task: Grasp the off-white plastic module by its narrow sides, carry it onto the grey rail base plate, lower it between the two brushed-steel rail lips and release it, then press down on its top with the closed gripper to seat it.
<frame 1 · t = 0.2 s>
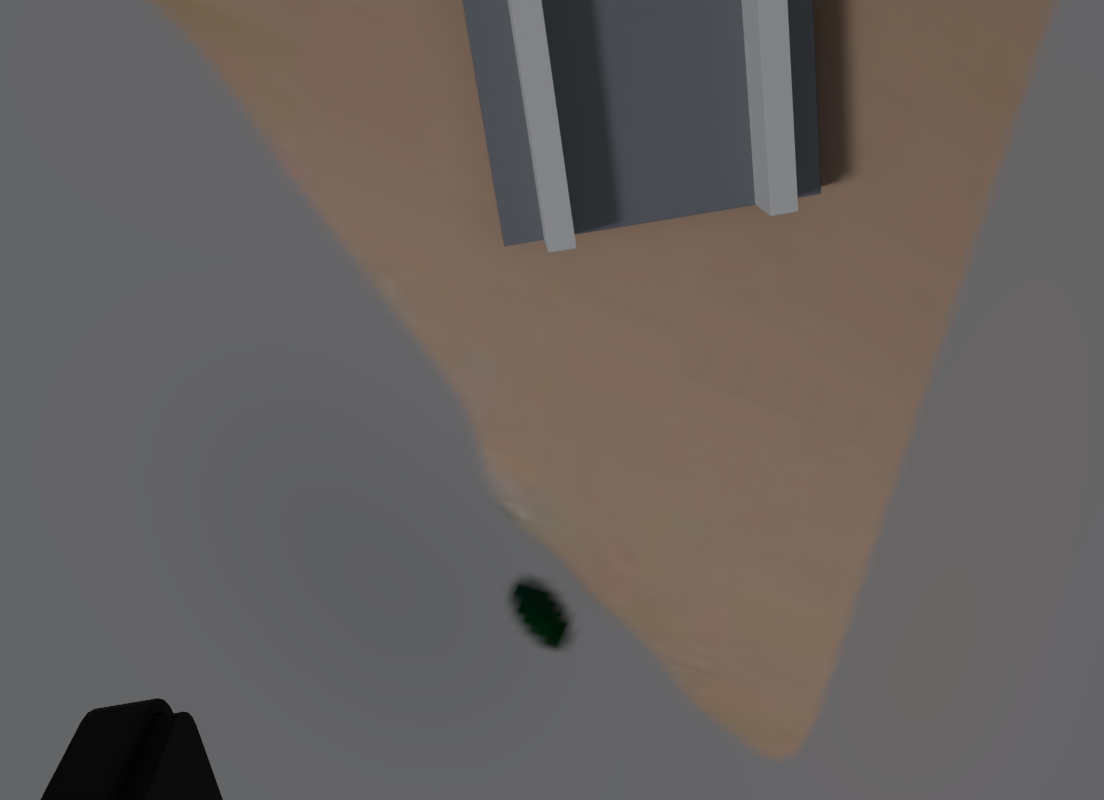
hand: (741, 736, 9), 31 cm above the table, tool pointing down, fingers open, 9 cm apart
grey rail base plate: (637, 20, 35), on the table
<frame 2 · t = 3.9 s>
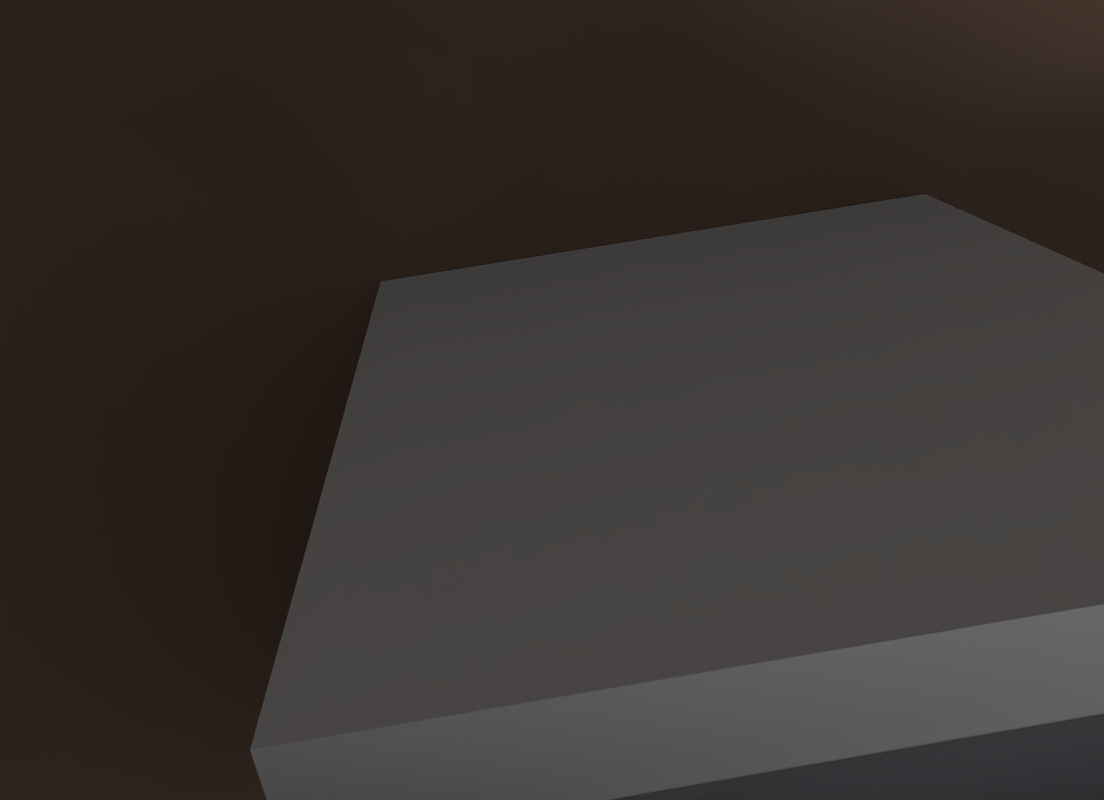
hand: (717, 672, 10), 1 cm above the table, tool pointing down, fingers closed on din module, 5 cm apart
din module: (692, 605, 11), on the table, touching gripper
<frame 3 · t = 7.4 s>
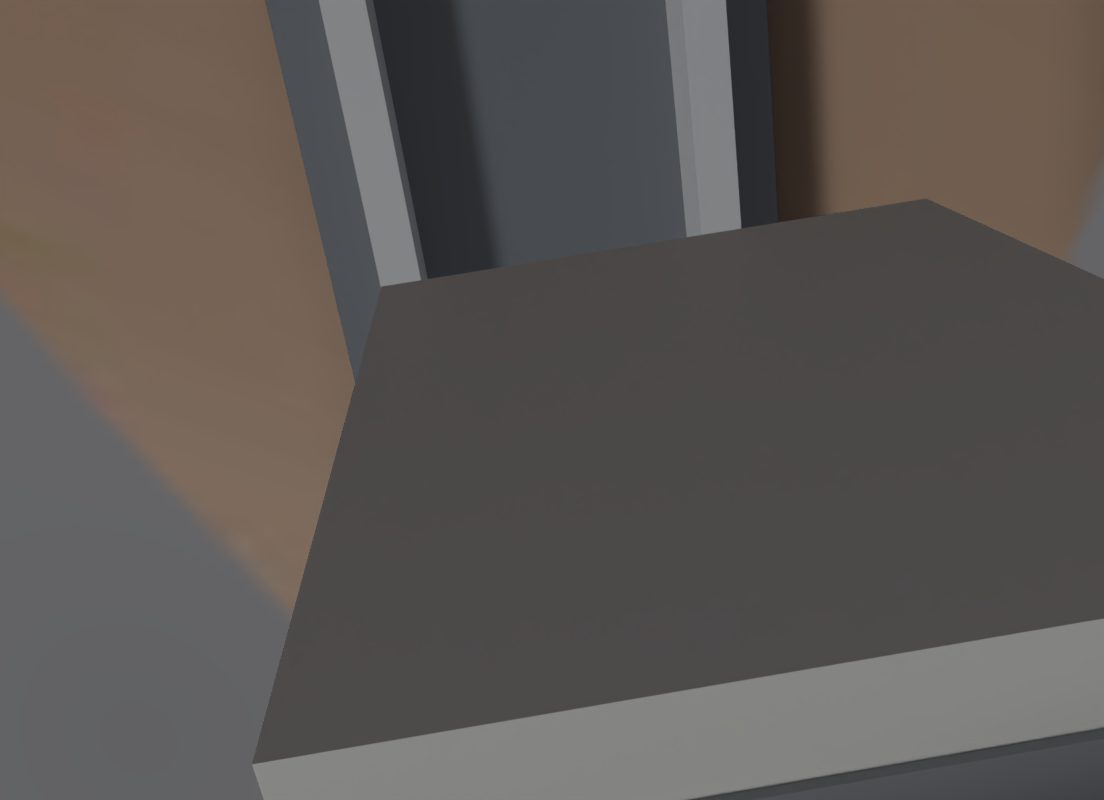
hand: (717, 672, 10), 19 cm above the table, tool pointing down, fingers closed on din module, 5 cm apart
grey rail base plate: (551, 229, 27), on the table
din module: (693, 609, 11), point 18 cm above the table, touching gripper
when the fingers open (4 cm above the table, at t = 10.7 s): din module drops 1 cm, resting on grey rail base plate.
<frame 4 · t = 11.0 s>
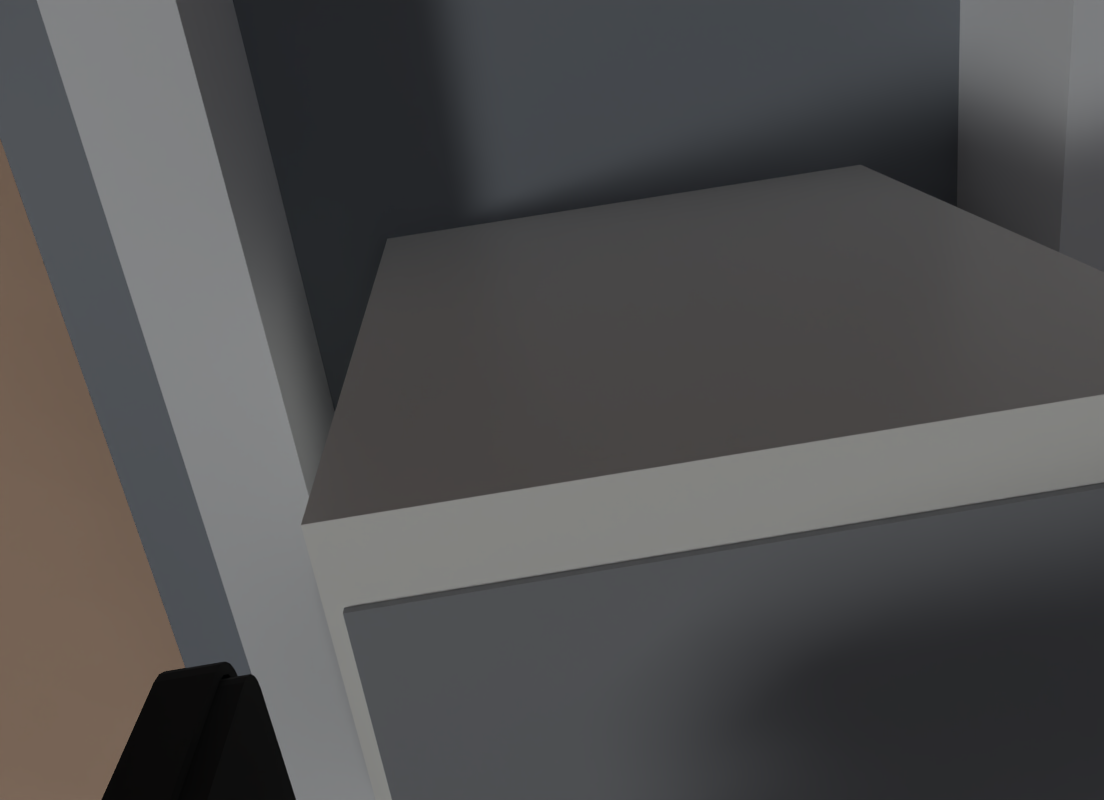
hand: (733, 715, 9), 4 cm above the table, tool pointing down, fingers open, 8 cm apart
grey rail base plate: (652, 496, 13), on the table
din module: (661, 532, 12), point 1 cm above the table, touching grey rail base plate
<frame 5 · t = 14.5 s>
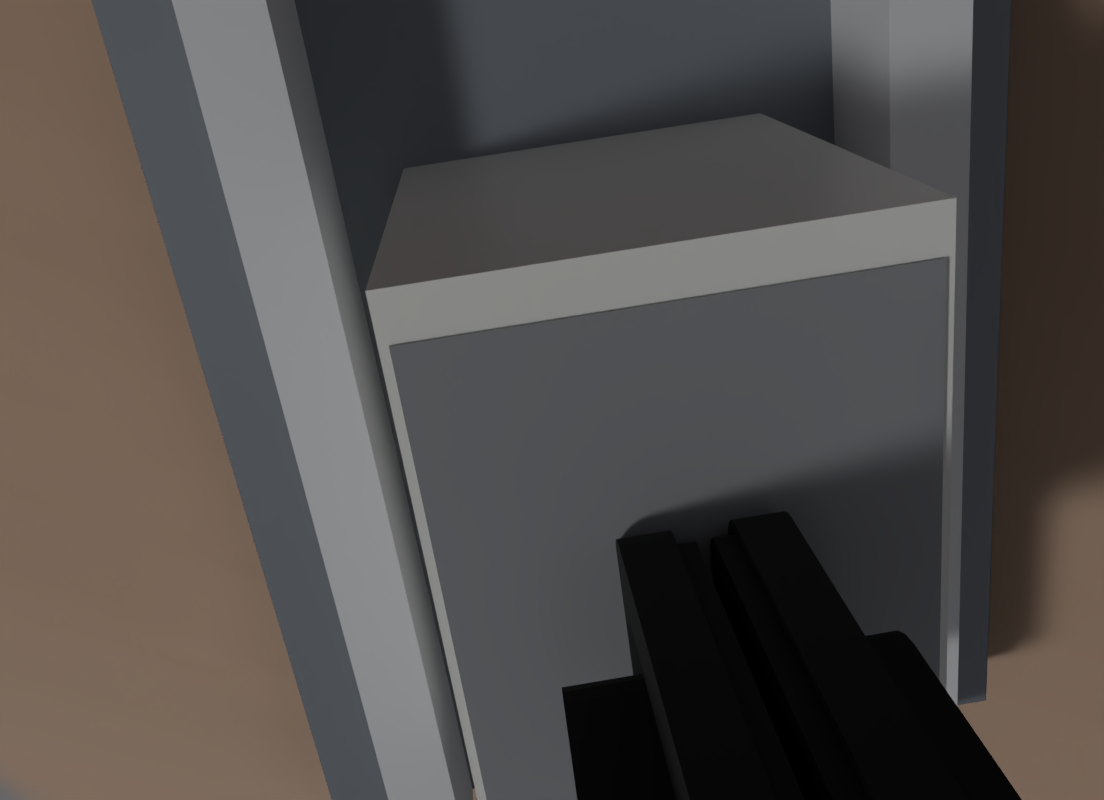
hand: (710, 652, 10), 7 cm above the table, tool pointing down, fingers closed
grey rail base plate: (610, 382, 16), on the table
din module: (615, 403, 15), point 1 cm above the table, touching gripper, grey rail base plate
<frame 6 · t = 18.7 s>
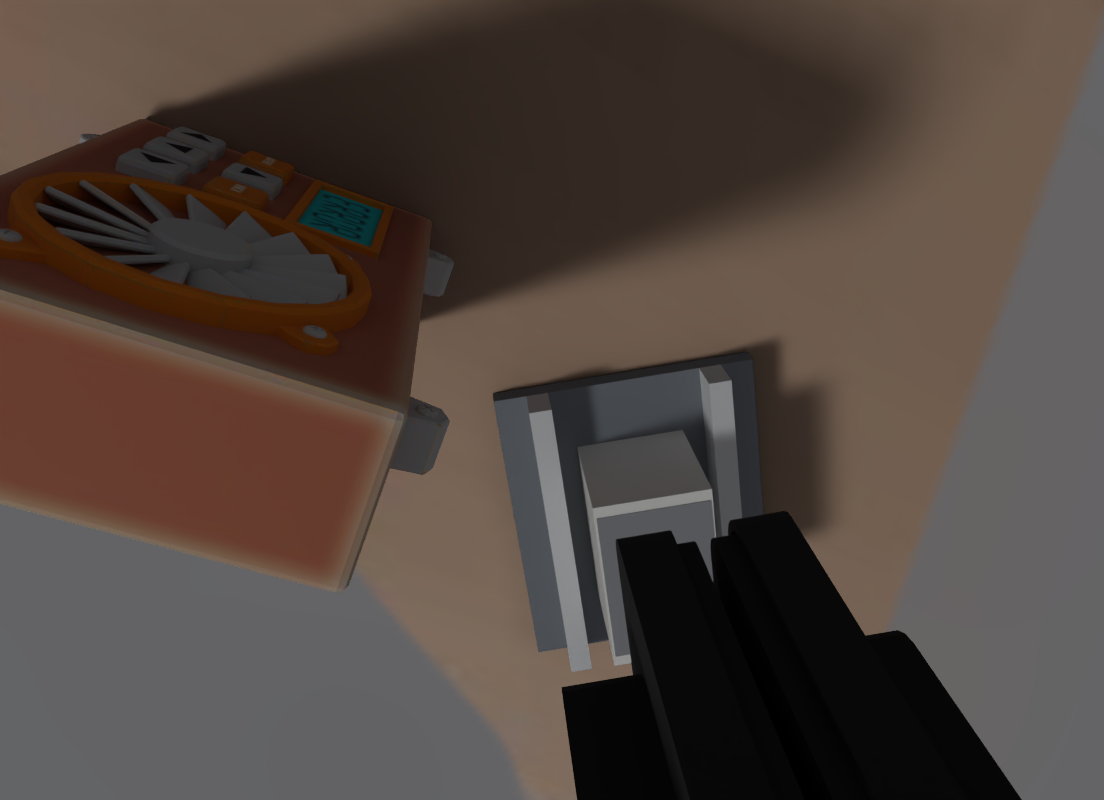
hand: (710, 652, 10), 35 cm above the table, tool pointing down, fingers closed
orange upright battery pack: (274, 230, 43), on the table
grey rail base plate: (636, 503, 49), on the table
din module: (638, 512, 48), point 1 cm above the table, touching grey rail base plate
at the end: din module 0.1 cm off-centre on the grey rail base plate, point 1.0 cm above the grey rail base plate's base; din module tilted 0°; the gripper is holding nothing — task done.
